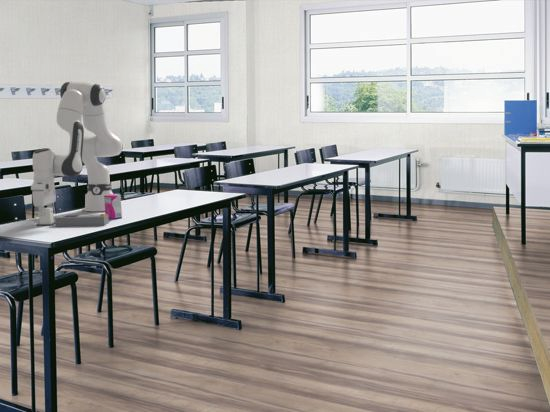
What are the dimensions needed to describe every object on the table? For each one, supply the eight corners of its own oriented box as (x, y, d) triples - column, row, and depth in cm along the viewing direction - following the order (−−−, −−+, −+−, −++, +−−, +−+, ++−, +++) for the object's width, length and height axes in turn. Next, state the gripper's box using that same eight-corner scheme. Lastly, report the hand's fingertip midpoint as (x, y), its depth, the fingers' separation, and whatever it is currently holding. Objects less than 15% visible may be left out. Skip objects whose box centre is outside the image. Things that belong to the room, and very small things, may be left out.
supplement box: (114, 217, 322) (113, 193, 321) (122, 218, 319) (121, 194, 317) (104, 218, 318) (103, 195, 316) (112, 219, 314) (111, 195, 313)
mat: (41, 223, 306) (41, 222, 306) (56, 223, 306) (56, 222, 306) (36, 225, 299) (36, 224, 299) (51, 225, 299) (51, 224, 299)
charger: (42, 222, 304) (41, 207, 303) (54, 222, 304) (53, 207, 303) (39, 224, 300) (38, 209, 299) (50, 224, 300) (50, 208, 299)
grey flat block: (66, 220, 312) (65, 210, 312) (112, 220, 312) (112, 210, 312) (55, 226, 296) (54, 215, 296) (104, 225, 296) (103, 215, 296)
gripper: (44, 182, 310) (46, 211, 312) (29, 186, 290) (31, 217, 292) (58, 182, 310) (60, 211, 312) (43, 186, 290) (45, 217, 292)
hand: (46, 214), depth 302 cm, fingers open, 8 cm apart
